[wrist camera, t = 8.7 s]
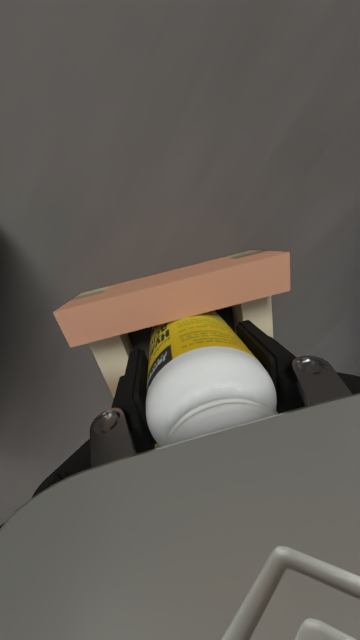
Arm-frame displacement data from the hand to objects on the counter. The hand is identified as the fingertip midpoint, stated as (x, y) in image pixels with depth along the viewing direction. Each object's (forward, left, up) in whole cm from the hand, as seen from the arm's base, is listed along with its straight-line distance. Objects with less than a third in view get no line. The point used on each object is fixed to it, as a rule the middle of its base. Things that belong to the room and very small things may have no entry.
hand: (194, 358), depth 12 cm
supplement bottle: (0, 0, -3) cm, 3 cm away
